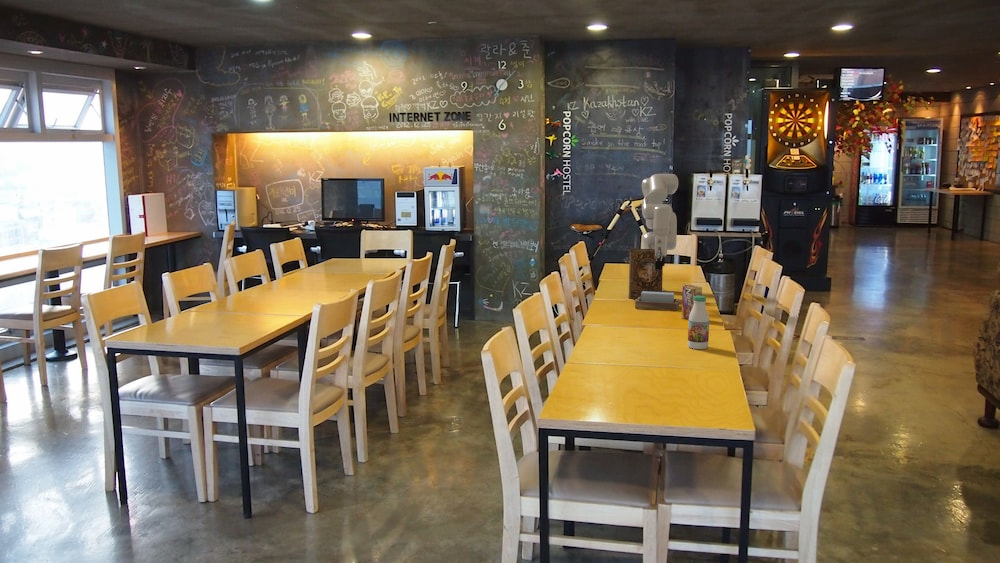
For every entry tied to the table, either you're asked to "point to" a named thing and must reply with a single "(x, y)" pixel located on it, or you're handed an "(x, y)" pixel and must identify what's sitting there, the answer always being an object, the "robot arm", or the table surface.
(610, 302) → the table surface
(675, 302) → the frame
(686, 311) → the candy box
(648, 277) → the book
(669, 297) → the grey rectangular block
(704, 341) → the milk bottle
